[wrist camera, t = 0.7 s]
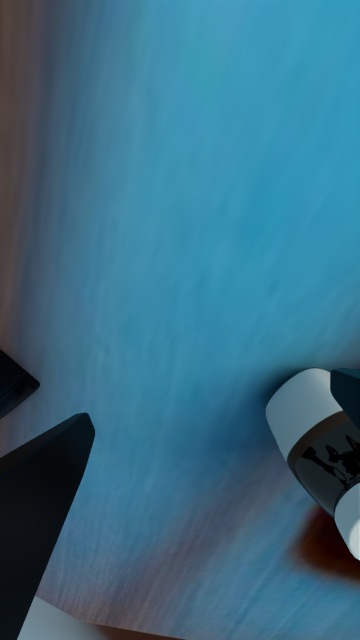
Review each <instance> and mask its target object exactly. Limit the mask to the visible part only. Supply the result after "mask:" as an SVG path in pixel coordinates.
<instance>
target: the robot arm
mask: <svg viewBox="0 0 360 640" xmlns="http://www.w3.org/2000/svg"><path fill="white" fill-rule="evenodd" d="M33 385H35V386H33ZM39 387H40V383H39V382H38V381H37V380H36V379H35V378H33V377H32V376H31V375H30V374H29V373H28V372H26V371H25V370H24V369H23V368H22V367H21V366H19V365H18V364H17V363H16V362H15V361H13V360H12V359H11V358H10V357H9V356H8V355H6V354H5V353H4V352H3V351H2V350H0V419H1V418H3V417H4V416H5V415H7V414H8V413H9V412H10V411H11V410H13V409H14V408H15V407H16V406H18V405H19V404H20V403H21V402H22V401H24V400H25V399H26V398H27V397H29V396H30V395H31V394H32V393H34V392H35V391H36V390H37V389H38V388H39ZM330 391H331V394H332V396H333V398H334V399H335V400H336V402H337V403H338V404H339V406H340V407H341V408H342V410H343V411H344V412H345V413H346V415H347V416H348V417H349V419H350V420H351V421H352V423H353V424H354V425H355V426H356V427H357V429H358V430H359V431H360V370H354V369H348V368H339V369H333V370H332V371H331V372H330ZM94 438H95V429H94V426H93V424H92V421H91V419H90V416H89V414H88V413H86V412H85V413H79V414H75V415H74V416H72V417H70V418H69V419H67V420H65V421H63V422H62V423H60V424H58V425H56V426H55V427H53V428H51V429H49V430H48V431H46V432H44V433H43V434H41V435H39V436H37V437H36V438H34V439H32V440H30V441H29V442H27V443H25V444H24V445H22V446H20V447H18V448H17V449H15V450H13V451H11V452H10V453H8V454H6V455H4V456H3V457H1V458H0V640H17V638H18V636H19V633H20V631H21V628H22V626H23V623H24V621H25V618H26V616H27V614H28V611H29V608H30V606H31V603H32V601H33V599H34V596H35V594H36V591H37V589H38V586H39V584H40V581H41V579H42V576H43V574H44V571H45V569H46V566H47V564H48V562H49V559H50V557H51V554H52V552H53V549H54V547H55V544H56V542H57V539H58V537H59V534H60V532H61V529H62V527H63V524H64V522H65V519H66V517H67V514H68V512H69V510H70V507H71V505H72V502H73V500H74V497H75V495H76V492H77V490H78V487H79V485H80V482H81V480H82V477H83V475H84V472H85V469H86V465H87V462H88V459H89V455H90V452H91V448H92V445H93V441H94Z"/></svg>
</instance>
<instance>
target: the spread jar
mask: <svg viewBox="0 0 360 640" xmlns="http://www.w3.org/2000/svg"><path fill="white" fill-rule="evenodd" d="M266 418H267V421H268V424H269V426H270V429H271V431H272V433H273V435H274V438H275V440H276V442H277V444H278V446H279V449H280V451H281V453H282V455H283V457H284V459H285V461H286V463H287V464H288V466H289V468H290V470H291V471H292V473H293V474H294V476H295V477H296V479H297V480H298V482H299V483H300V484H301V485H302V487H303V488H304V489H305V490H306V491H307V492H308V494H309V495H310V496H311V497H312V498H313V499H314V500H315V501H316V502H317V503H318V504H319V505H320V506H321V507H322V509H323V510H324V511H326V512H327V513H328V514H329V515H330V516H331V517H332V518H333V519H335V522H336V525H337V527H338V529H339V531H340V533H341V535H342V537H343V539H344V540H345V542H346V544H347V546H348V548H349V550H350V552H351V553H352V554H353V555H354V557H355V558H357V559H358V560H360V431H359V430H358V429H357V427H356V426H355V425H354V424H353V423H352V421H351V420H350V419H349V417H348V416H347V415H346V413H345V412H344V411H343V410H342V408H341V407H340V406H339V404H338V403H337V402H336V400H335V399H334V398H333V396H332V394H331V391H330V372H329V371H327V370H324V369H321V368H315V367H313V368H306V369H303V370H301V371H299V372H297V373H295V374H293V375H292V376H290V377H289V378H287V379H286V380H285V381H284V382H283V383H281V384H280V385H279V387H278V388H277V389H276V390H275V392H274V393H273V394H272V396H271V397H270V399H269V401H268V403H267V407H266Z"/></svg>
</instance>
